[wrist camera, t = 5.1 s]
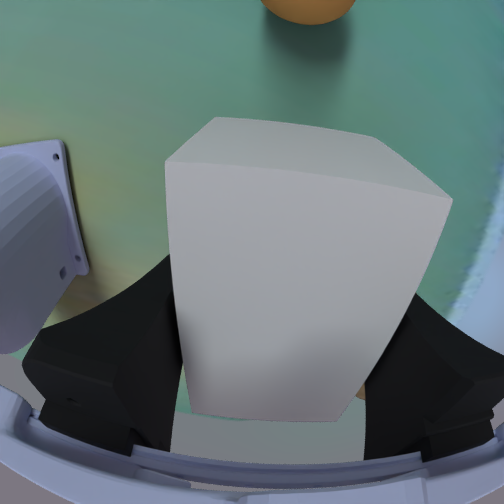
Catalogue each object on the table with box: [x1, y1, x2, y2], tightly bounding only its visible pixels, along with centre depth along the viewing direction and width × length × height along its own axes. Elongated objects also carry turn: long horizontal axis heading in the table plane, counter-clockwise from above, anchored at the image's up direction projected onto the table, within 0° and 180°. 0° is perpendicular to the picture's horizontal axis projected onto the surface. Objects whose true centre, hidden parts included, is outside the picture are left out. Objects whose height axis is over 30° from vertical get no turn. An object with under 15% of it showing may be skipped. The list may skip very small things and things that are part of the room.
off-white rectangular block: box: [165, 117, 453, 422], centre depth 10 cm, size 10×6×6 cm, turn 175°
